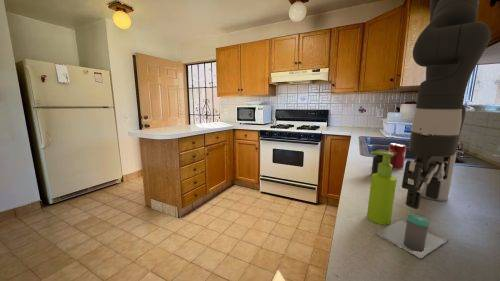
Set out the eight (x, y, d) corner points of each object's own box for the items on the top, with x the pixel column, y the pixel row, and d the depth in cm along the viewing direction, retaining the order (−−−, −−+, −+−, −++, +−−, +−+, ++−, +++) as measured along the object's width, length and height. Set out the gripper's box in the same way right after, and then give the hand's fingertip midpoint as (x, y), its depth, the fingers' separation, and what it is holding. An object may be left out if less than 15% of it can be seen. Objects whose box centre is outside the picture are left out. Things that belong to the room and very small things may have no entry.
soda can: (389, 168, 107) (392, 145, 105) (384, 164, 114) (387, 142, 112) (405, 169, 105) (409, 146, 103) (400, 165, 112) (403, 143, 110)
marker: (409, 238, 51) (413, 212, 50) (427, 248, 48) (433, 221, 47) (399, 243, 50) (403, 216, 49) (418, 253, 46) (423, 225, 45)
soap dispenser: (365, 210, 66) (372, 148, 62) (391, 218, 62) (401, 152, 58) (361, 218, 61) (368, 152, 58) (389, 227, 57) (399, 156, 53)
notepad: (402, 221, 60) (403, 219, 60) (447, 241, 52) (448, 239, 51) (375, 234, 54) (375, 231, 54) (420, 259, 46) (421, 257, 45)
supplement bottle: (391, 177, 95) (395, 151, 93) (381, 179, 92) (384, 152, 90) (377, 172, 101) (380, 148, 99) (367, 174, 99) (370, 149, 96)
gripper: (429, 126, 50) (418, 189, 53) (395, 131, 44) (386, 202, 47) (472, 130, 44) (458, 201, 47) (440, 136, 37) (426, 219, 40)
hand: (422, 202), depth 47 cm, fingers open, 8 cm apart
